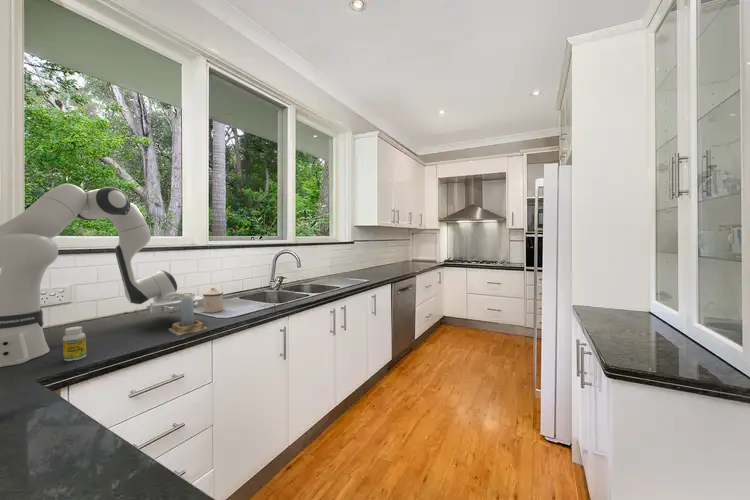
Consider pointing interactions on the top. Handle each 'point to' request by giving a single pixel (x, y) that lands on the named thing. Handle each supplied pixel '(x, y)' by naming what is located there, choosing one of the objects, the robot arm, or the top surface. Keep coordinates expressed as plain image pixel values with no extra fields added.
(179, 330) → the cradle jig
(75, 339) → the supplement bottle
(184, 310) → the blue bottle
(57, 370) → the top surface
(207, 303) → the teacup with lid
